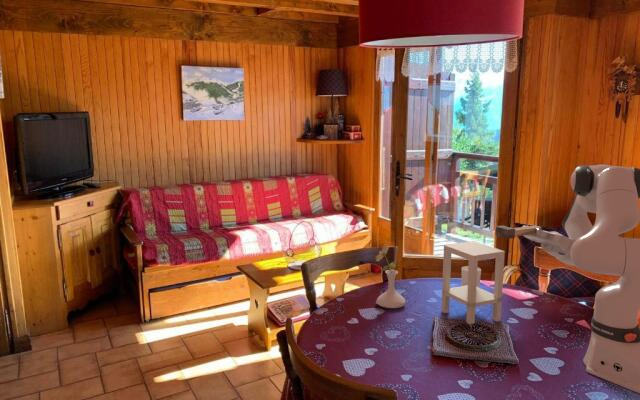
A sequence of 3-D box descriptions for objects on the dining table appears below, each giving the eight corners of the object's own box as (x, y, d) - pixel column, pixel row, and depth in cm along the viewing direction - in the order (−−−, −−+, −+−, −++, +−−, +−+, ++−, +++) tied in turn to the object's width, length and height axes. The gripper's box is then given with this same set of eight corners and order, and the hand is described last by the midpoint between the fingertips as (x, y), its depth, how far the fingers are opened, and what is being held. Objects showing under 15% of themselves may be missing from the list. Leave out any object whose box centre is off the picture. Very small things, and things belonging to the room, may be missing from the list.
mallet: (544, 233, 189) (544, 224, 189) (507, 238, 182) (507, 229, 181) (531, 230, 195) (532, 222, 194) (495, 235, 187) (495, 226, 187)
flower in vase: (391, 298, 203) (393, 238, 198) (411, 306, 193) (413, 244, 189) (367, 305, 195) (367, 243, 191) (386, 314, 186) (387, 249, 182)
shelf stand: (500, 320, 180) (504, 251, 176) (469, 327, 174) (473, 255, 170) (470, 305, 194) (473, 241, 190) (441, 311, 189) (443, 245, 184)
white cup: (482, 294, 206) (483, 271, 205) (463, 294, 206) (464, 271, 205) (476, 288, 214) (477, 265, 212) (458, 288, 214) (459, 265, 213)
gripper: (535, 230, 206) (515, 216, 200) (578, 241, 188) (557, 226, 182) (529, 244, 206) (508, 230, 200) (571, 256, 187) (550, 242, 181)
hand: (532, 228), depth 191 cm, fingers closed on mallet, 3 cm apart
